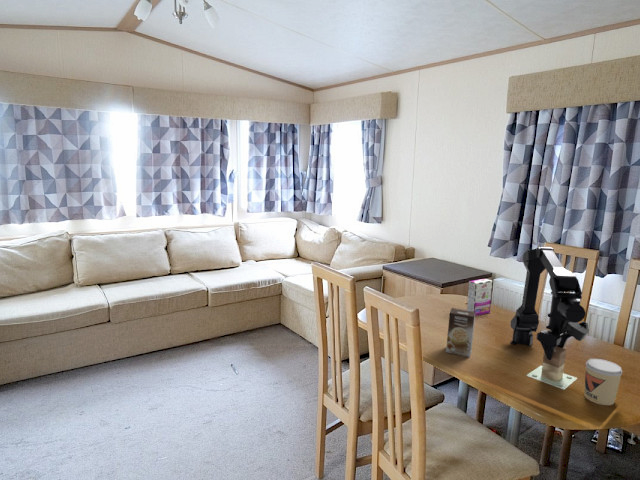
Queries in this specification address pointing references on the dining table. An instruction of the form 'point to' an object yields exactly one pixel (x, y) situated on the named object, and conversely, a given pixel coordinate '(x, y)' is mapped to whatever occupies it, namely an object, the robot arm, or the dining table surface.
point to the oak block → (552, 372)
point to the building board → (562, 383)
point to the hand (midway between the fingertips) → (554, 356)
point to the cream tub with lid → (602, 381)
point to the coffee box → (460, 332)
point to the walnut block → (556, 357)
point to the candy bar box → (479, 296)
